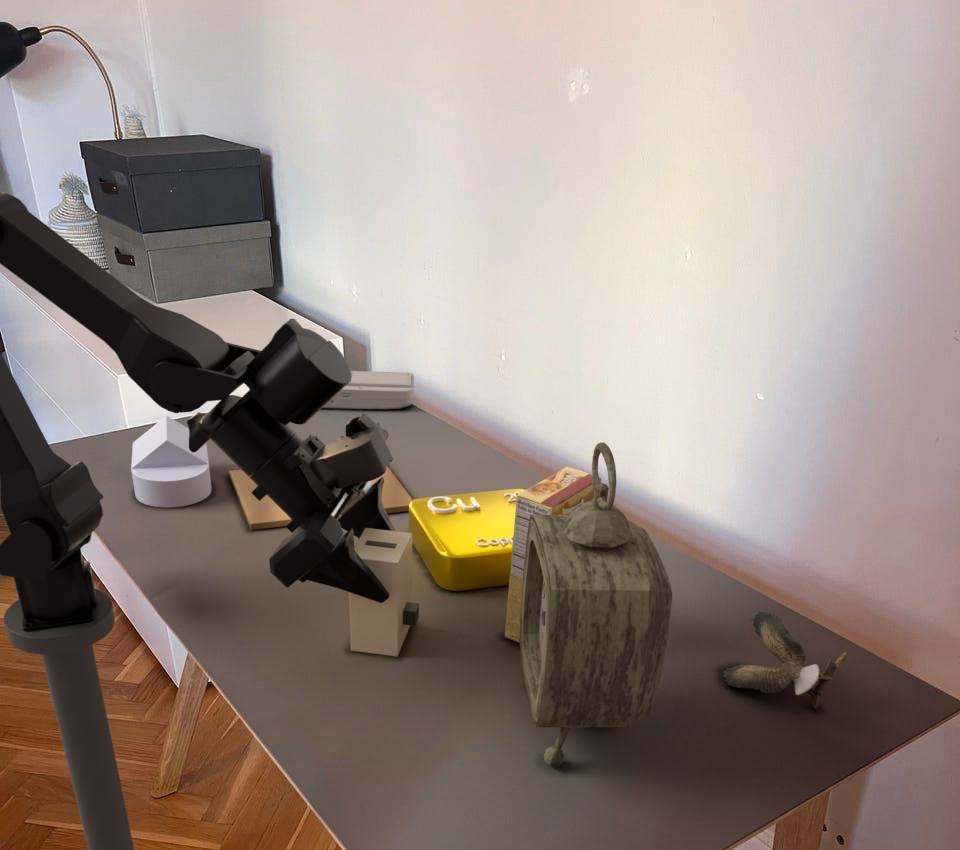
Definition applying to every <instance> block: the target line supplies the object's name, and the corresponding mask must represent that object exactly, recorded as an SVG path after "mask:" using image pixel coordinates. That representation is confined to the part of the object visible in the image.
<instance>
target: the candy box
mask: <svg viewBox="0 0 960 850" xmlns="http://www.w3.org/2000/svg"><path fill="white" fill-rule="evenodd" d="M599 480H600V483H602V477H600V476H599ZM524 490H525V491H523V492H521V493H520V494H518V495H517V499H516V512H515V523H514V535H513V546H512V558H511V570H510V581H509V585H508V593H507V604H506V616H505V625H504V626H505V628H504V637H505V638H506V639H509V640H510V641H513V642H516V643H518V644H520V614H521V599H522V585H523V572H524V561H525V551H526V541H527V533H528V526H529V520H530V515H569V514H570V512H571V511H572V510H573V509H574V508H575V507H577V506H579V505H580V504H583V503H586V502H589V501H592V502H593V500H594V491H593V485H592V473H589V472H585V471H583V470H579V469H577V468H573V467H569V466H565V467H564V468H562V469H560V470H558V471H557V472H554V473H553V474H551V475H550V476H548V477H547V478H545V479H542V480H541V481H539V482H537V483H536V484H534V485H532V486H530V487H528V488H527V489H524Z"/></svg>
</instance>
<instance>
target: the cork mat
mask: <svg viewBox="0 0 960 850" xmlns="http://www.w3.org/2000/svg"><path fill="white" fill-rule="evenodd" d="M388 466H389V465H387V467H386V469H387V470H386V472H385V473H384V474H383V475H382V476H380V477H379V478H377V479H374V480H371V481H369V482H370V483H371V484H372V485H373V484H374V483H375V482H377V481H378V480H379V479H380V478H381V477H383V478H384V484H383V492H382V504H383V506H384V508H385V511H386V513H387V515H388V514H396V513H403V512H409V505H410V502H412V501H413V500H414V499H413V498H412V497H411V496H410V495H409V493H408V491H407V490H406V489H405V487H403V485H402V484H401V482H400V481H399V480H398V479H397V477H396V475H395V474H394V473H393V472H392V471H391V469H390V467H388ZM251 475H252V474H251ZM251 475H250V476H251ZM228 476H229V479H230V481H231V484H232V486H233V489H234V491H235V493H236V496H237V498H238V501H239V504H240V506H241V509H242V511H243V513H244V516H245V518H246V521H247V523H248V526H249V528H250V530H251V531H256V530H263V529H270V528H271V529H272V528H279V527H285V526H286V525H287V523H288V522H289V521H290V519H291V518H290V517H289V516H288V515H287V514H286V513H285V512H284V511H283V510H282V509H281V508H280V507H279V506H278V505H277V504H276V503H275V502H274V501H273V500H272V499H271V498H270V497H269V496H268V495H266V496H265V497H263V498H262V499H261V500H260V501H259V500H258V499H257V498H256V497H255V496H254V495H253V494H252V493H251V492H252V491H253V490H254V489H255V488H256V487H257V485H256V484H255V483H254V482H253V481H252V480H251V479H250V478H249V477H250V476H249V477H248V476H247V475H246V474H245V473H244V472H243V471H242V470H241V469H235V470H229V471H228Z"/></svg>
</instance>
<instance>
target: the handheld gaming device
mask: <svg viewBox="0 0 960 850" xmlns="http://www.w3.org/2000/svg"><path fill="white" fill-rule="evenodd" d="M350 371H351V381H350V382H349V383H348V384H347V385H346V386H345V387H344V388H343V389H342V390H341V391H339V392H338V393H337V394H336V395H335V396H334V397H333V398H332V399H331V400H330V401H329V402H328V403H327V404H326V405H324V406H323V407H322V408H321V409H344V410H345V409H347V410H348V409H349V410H350V409H351V410H391V409H393V410H394V409H396V410H401V409H403V408H406V407H410V406H411V405H413V404H414V400H415V399H414V398H415V397H414V396H415V374H414V373H413V372H399V371H394V372H393V371H366V370H350Z"/></svg>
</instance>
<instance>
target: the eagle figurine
mask: <svg viewBox="0 0 960 850" xmlns="http://www.w3.org/2000/svg"><path fill="white" fill-rule="evenodd" d="M751 621H752V627H754V632H755V633H756V634H757V636H758V637H759V638H760V639H761V641H762V642H763V644H764V646H765V648H766V649H767V651H768V652H770V653H771V655H773V656H774V657H775V658H776V659H777V660H779V661H780V663H781V664H782V665H780V666H778V667H777V666H765V665H759V664H758V665H756V664H750V665H747V664H740V665H734V666H733V667H727V668H726V670H724V671H723V673H724V674H722V675H723V678H725V679H724V681H725V682H727V683H726V684H727V685H728V686H730V687H733V688H737V689H742V688H744V689H747V690H748V689H752V690H756V691H759V690H760V691H761V692H762V693H764V694H778V693H781V692H782V691H783V689H786V688H787V686H791V685H792V686H794V691H795V692H794V693H795V695H796V696H800V695H802V694H807V695H809V696H810V700H811V705H812V707H813V708H814V709H815V710H816V709H818V707H819V704H820V700H821V697H824V696H825V692H826V689H827V688H828V686H829V685H830V683H831V681H833V679H834V677H835V676H836V674H837V673H838V671H839V670H840V668H841V666H842V665H843V663H844V662H845V661H846V658H847V656H848V654H849V652H848V651H845V652H843V653H842V654H841V655H840V656H839V657H838V658H837V660H836V661H834V660H833V658H829V660H828V662H827V664H826V667H825V669H824V671H822V672H820V667H819V664H817V663H814V664H810V665H804V664H805V661H806V657H807V654H806V653H805V650H804V648H803V646H802V644H801V643H800V641H799V640H796V639H794V638H793V637H792V636H791V634H790V633H789V630H788V629H786V627H785V625H784V624H783V621H782V618H781V617H779V615H777V614H776V615H775V613H772V612H771V611H770V612H769V611H766V610H764V609H762V610H761V611H760V610H759V611H757V612H756V613H755V614H754V616H753V617H752V618H751ZM816 683H817V684H816ZM813 686H815V687H814V689H812V688H813Z"/></svg>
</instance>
